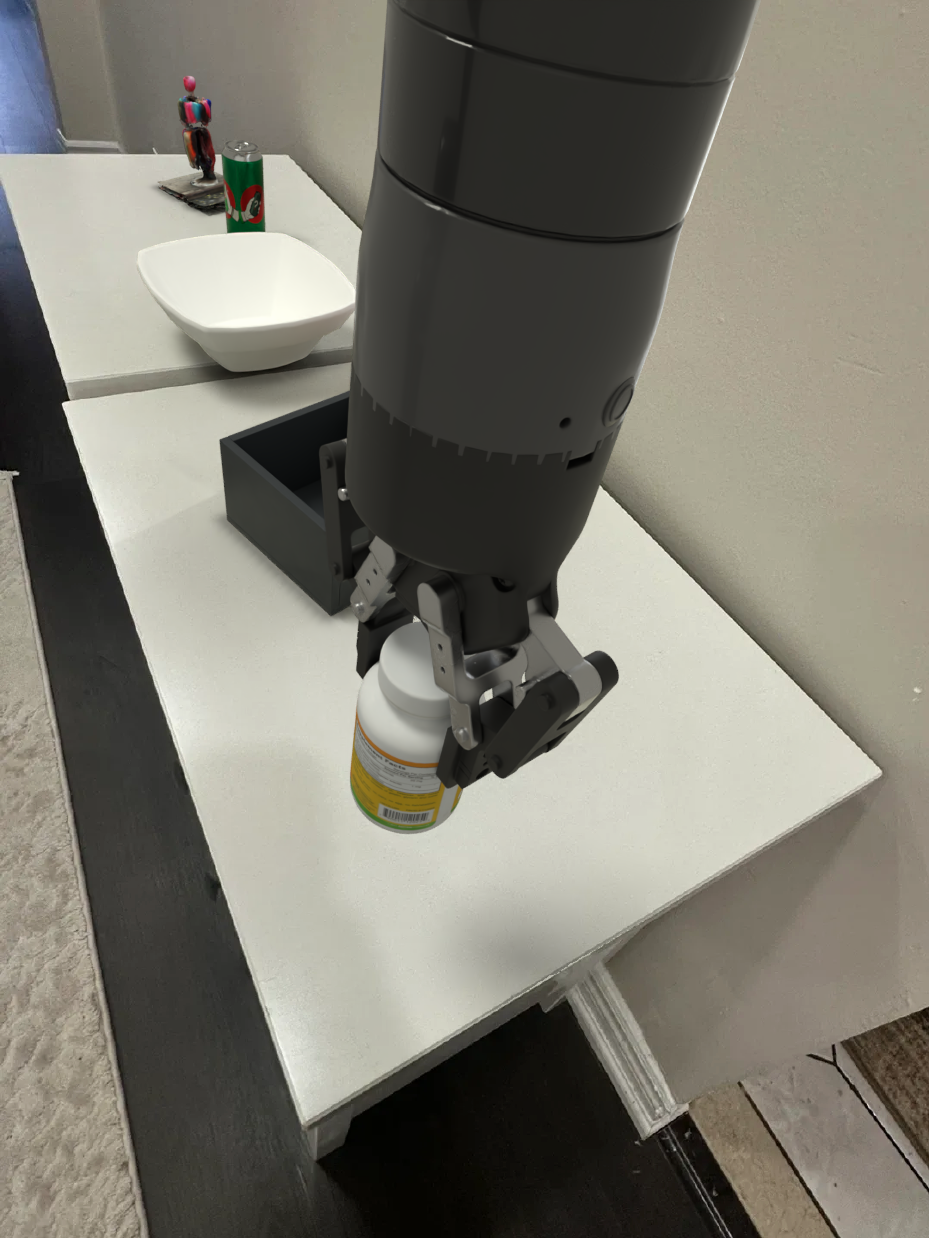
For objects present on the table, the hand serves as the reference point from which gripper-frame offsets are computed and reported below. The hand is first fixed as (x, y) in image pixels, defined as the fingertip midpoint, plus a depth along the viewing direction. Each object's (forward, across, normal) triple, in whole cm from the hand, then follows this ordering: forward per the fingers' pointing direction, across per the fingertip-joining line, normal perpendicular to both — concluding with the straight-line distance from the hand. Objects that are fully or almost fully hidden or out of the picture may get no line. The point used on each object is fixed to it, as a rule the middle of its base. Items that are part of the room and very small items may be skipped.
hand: (419, 719), depth 33 cm
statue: (+20, -103, +36) cm, 111 cm away
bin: (+20, -30, +16) cm, 40 cm away
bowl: (+20, -62, +22) cm, 69 cm away
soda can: (+20, -87, +34) cm, 95 cm away
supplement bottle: (+6, 0, 0) cm, 6 cm away
